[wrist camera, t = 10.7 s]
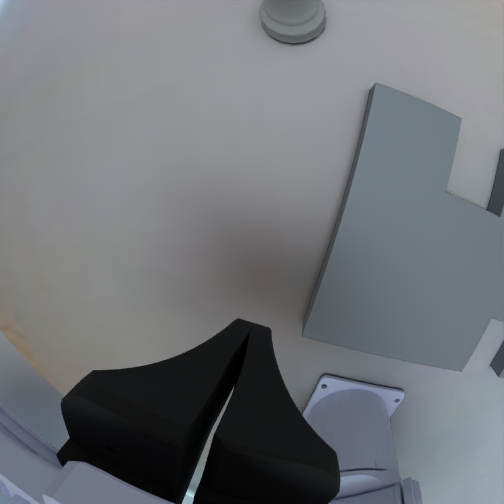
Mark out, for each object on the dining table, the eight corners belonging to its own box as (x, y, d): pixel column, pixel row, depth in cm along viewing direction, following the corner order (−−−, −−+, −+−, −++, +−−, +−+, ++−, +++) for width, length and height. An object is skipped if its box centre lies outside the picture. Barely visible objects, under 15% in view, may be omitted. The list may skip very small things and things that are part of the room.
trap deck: (528, 371, 19) (536, 381, 17) (303, 322, 22) (301, 336, 20) (590, 217, 14) (603, 221, 12) (370, 89, 17) (376, 82, 15)
